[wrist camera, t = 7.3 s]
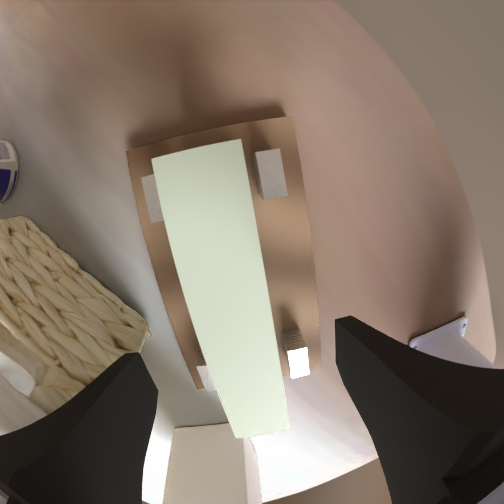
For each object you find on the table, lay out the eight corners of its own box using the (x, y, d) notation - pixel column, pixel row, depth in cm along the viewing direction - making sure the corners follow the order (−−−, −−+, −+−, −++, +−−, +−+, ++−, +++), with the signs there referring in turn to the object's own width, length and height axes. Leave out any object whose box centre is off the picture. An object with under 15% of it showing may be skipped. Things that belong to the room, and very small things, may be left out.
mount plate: (317, 358, 21) (321, 367, 20) (198, 379, 21) (197, 388, 20) (287, 119, 16) (291, 116, 14) (132, 152, 16) (126, 151, 14)
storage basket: (83, 432, 23) (50, 519, 9) (-12, 352, 20) (-69, 419, 5) (173, 318, 19) (116, 511, 5) (23, 188, 15) (-125, 234, 1)
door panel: (274, 355, 19) (290, 430, 12) (233, 362, 19) (235, 438, 12) (237, 153, 15) (241, 138, 8) (186, 163, 15) (151, 158, 8)
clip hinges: (301, 352, 19) (309, 374, 17) (208, 369, 19) (206, 392, 17) (272, 151, 15) (279, 148, 13) (154, 176, 15) (141, 177, 13)
